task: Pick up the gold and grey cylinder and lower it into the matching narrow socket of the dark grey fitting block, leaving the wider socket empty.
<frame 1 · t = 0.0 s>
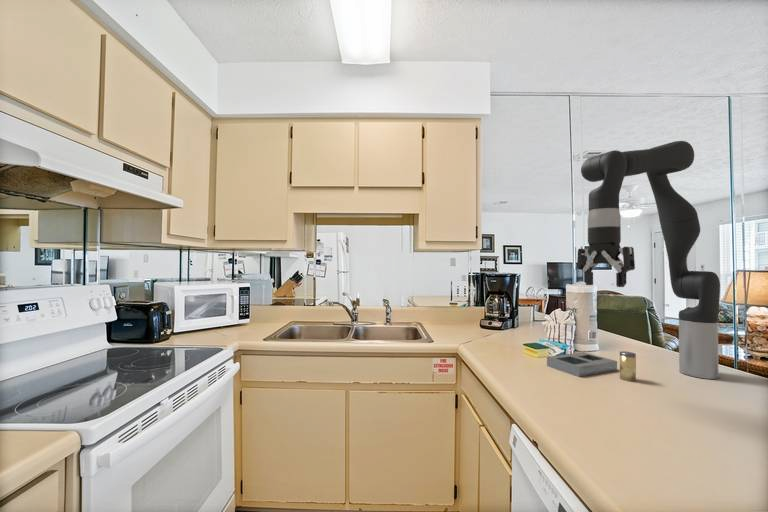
hand: (604, 285, 91), 29 cm above the worktop, fingers open, 8 cm apart
grey fitting block: (581, 367, 113), on the worktop
gold and grey cylinder: (627, 379, 102), on the worktop
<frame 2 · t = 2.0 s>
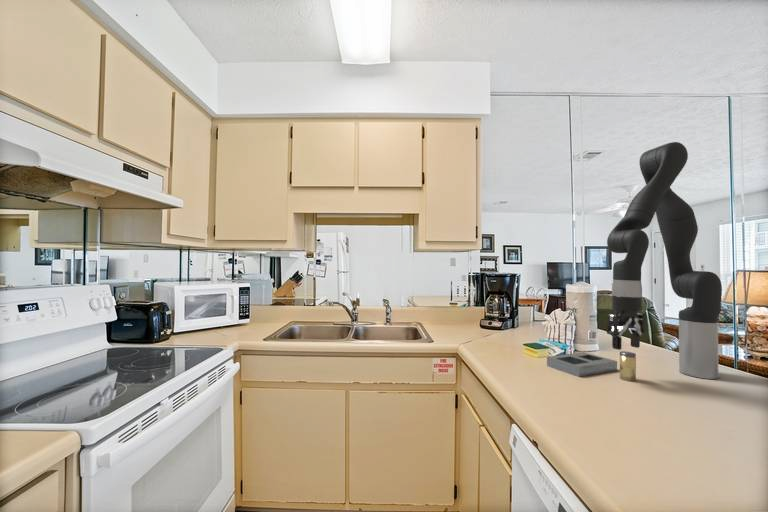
hand: (626, 348, 102), 9 cm above the worktop, fingers open, 8 cm apart
nothing on the worktop moved.
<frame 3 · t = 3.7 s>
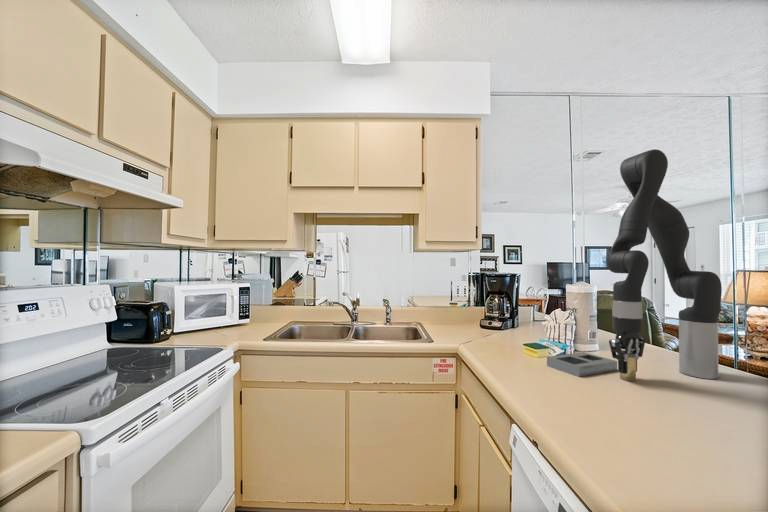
hand: (627, 371, 102), 2 cm above the worktop, fingers closed on gold and grey cylinder, 4 cm apart
gold and grey cylinder: (627, 379, 102), on the worktop, touching gripper
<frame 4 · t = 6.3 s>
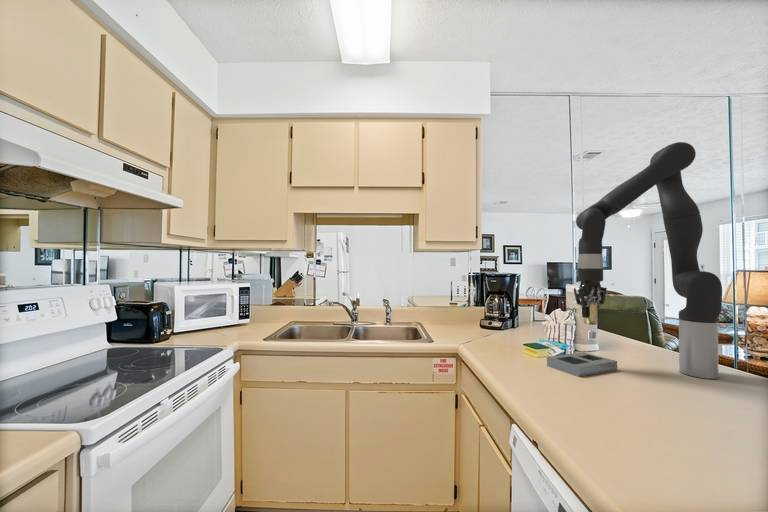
hand: (590, 317, 115), 17 cm above the worktop, fingers closed on gold and grey cylinder, 4 cm apart
gold and grey cylinder: (590, 323, 115), point 15 cm above the worktop, touching gripper
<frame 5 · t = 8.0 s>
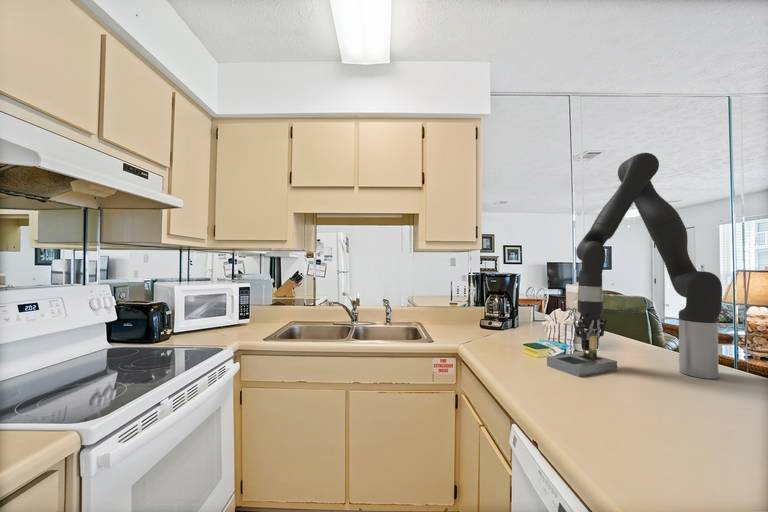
hand: (590, 349, 114), 6 cm above the worktop, fingers closed on gold and grey cylinder, 4 cm apart
gold and grey cylinder: (590, 355, 114), point 4 cm above the worktop, touching gripper
when the fingers open (4 cm above the worktop, at t = 9.1 s): gold and grey cylinder drops 2 cm, resting in grey fitting block.
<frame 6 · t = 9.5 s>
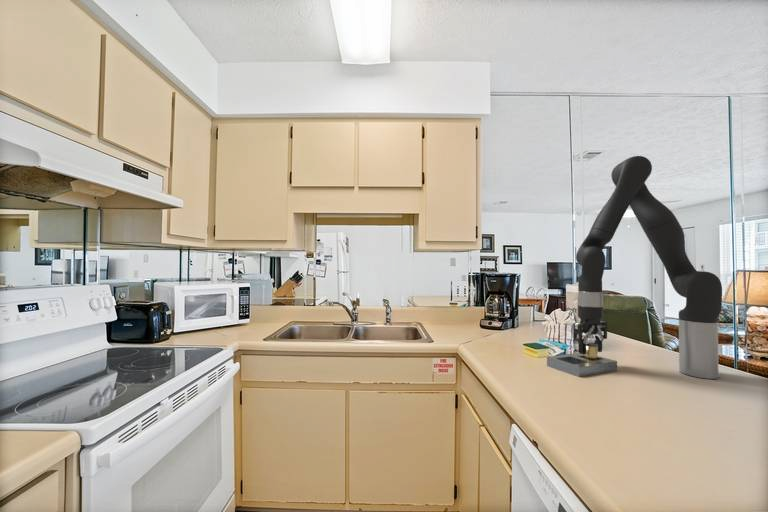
hand: (590, 352, 114), 5 cm above the worktop, fingers open, 7 cm apart
gold and grey cylinder: (590, 366, 114), resting in grey fitting block
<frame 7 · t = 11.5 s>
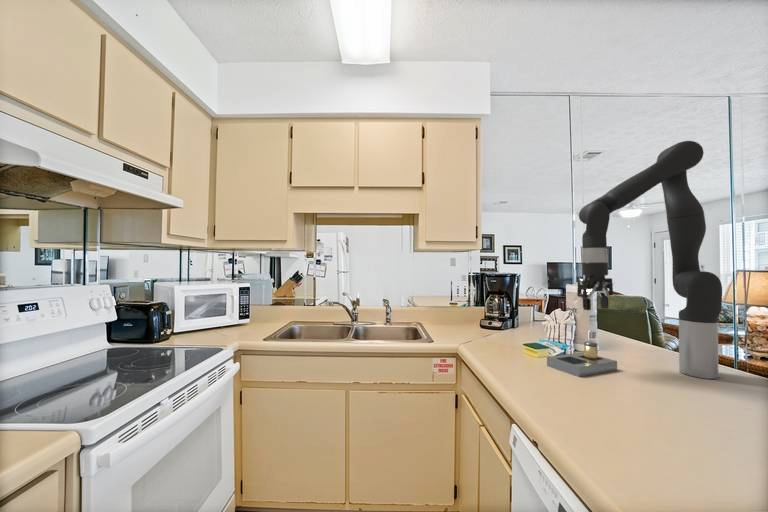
hand: (595, 309, 113), 20 cm above the worktop, fingers open, 8 cm apart
nothing on the worktop moved.
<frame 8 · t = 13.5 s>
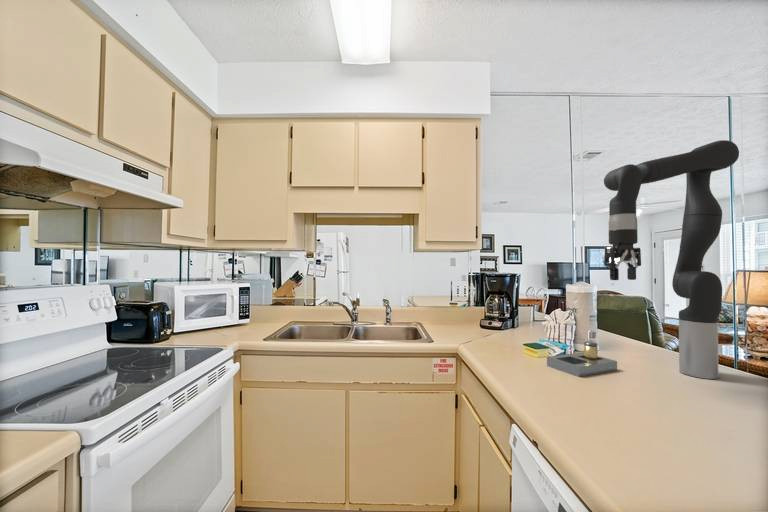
hand: (623, 279, 106), 30 cm above the worktop, fingers open, 8 cm apart
nothing on the worktop moved.
at the end: gold and grey cylinder 0.1 cm from the target spot on the grey fitting block, point 0.0 cm above the grey fitting block's base; gold and grey cylinder tilted 0°; the gripper is holding nothing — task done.
